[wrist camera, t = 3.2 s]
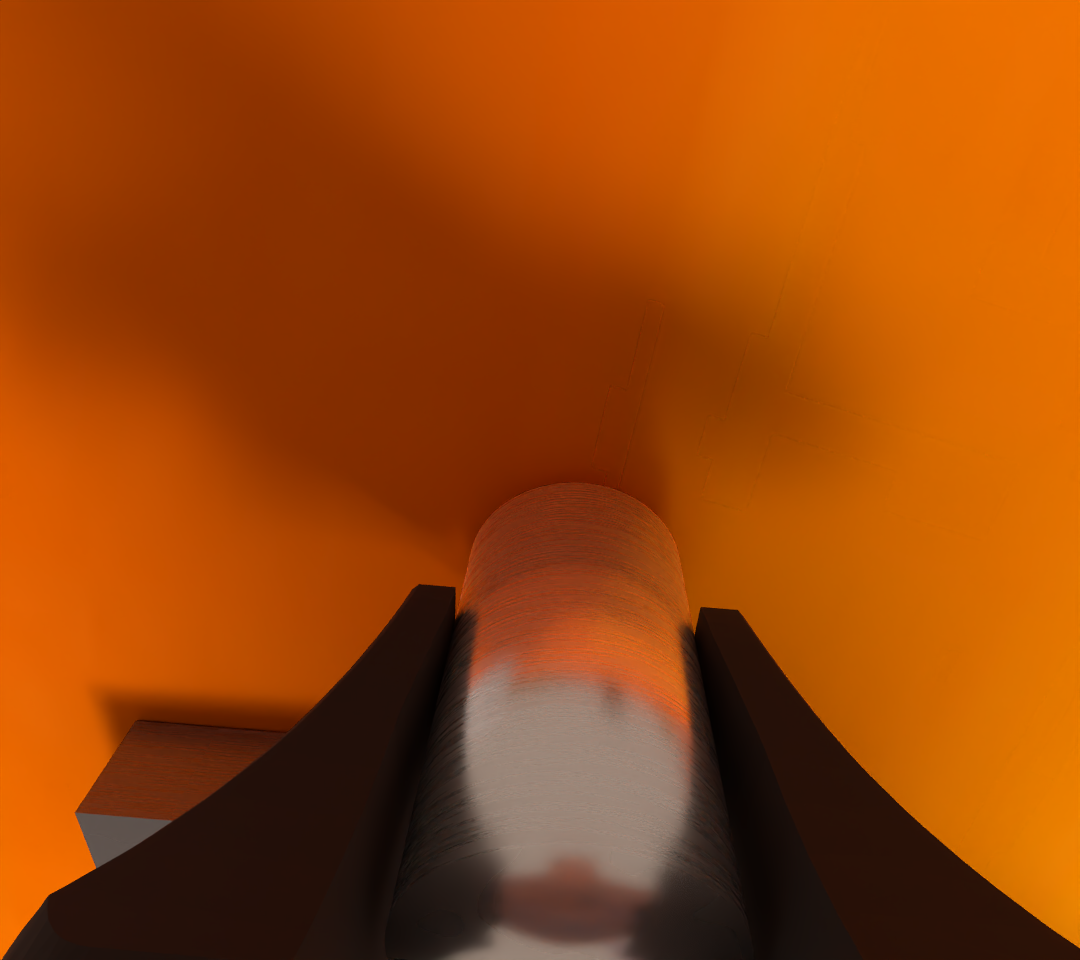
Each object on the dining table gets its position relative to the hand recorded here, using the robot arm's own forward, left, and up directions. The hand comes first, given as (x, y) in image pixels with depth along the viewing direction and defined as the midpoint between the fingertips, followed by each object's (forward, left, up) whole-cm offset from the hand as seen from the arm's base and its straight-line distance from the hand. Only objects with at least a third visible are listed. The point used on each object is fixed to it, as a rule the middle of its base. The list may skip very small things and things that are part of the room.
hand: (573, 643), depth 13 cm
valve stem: (0, 0, -2) cm, 2 cm away
